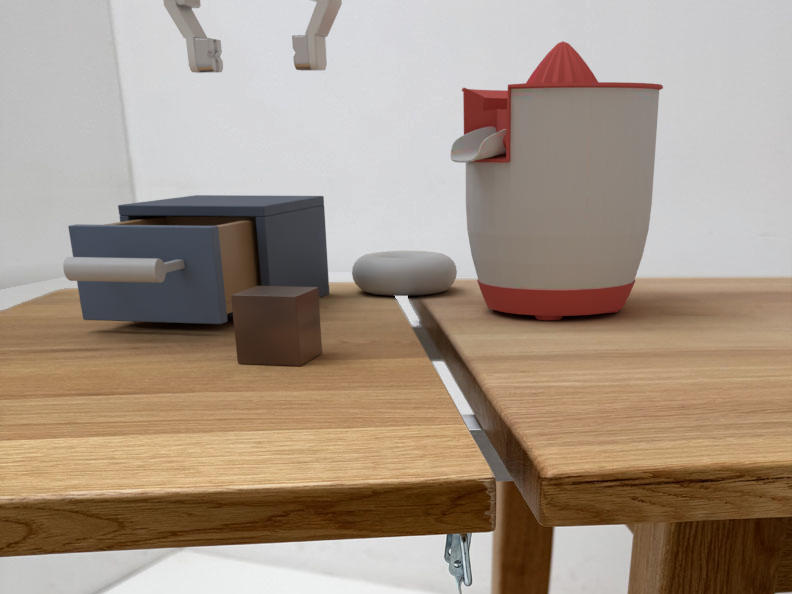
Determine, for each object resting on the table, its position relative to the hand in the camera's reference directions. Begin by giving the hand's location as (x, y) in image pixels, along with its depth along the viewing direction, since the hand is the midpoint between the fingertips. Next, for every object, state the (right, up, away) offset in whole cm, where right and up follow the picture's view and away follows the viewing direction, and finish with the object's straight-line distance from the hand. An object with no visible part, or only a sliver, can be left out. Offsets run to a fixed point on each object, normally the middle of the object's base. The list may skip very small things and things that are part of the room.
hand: (258, 71), depth 62 cm
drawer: (-10, -9, +19) cm, 24 cm away
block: (0, -15, +7) cm, 17 cm away
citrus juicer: (+19, -7, +25) cm, 32 cm away
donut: (+7, -2, +37) cm, 37 cm away
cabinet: (-8, -5, +30) cm, 32 cm away
